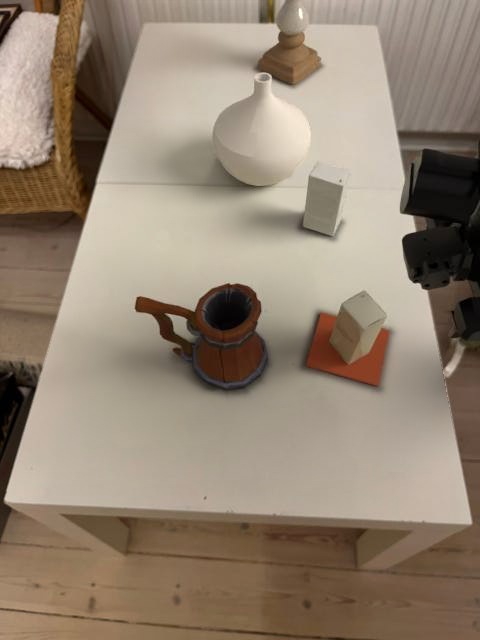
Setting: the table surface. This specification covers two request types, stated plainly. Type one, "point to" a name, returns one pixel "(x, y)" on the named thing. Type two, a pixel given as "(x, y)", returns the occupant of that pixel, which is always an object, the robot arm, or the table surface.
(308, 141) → the vase
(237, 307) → the mug
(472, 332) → the robot arm
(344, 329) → the box
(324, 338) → the mat
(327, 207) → the cosmetic box
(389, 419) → the table surface
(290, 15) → the candle holder
